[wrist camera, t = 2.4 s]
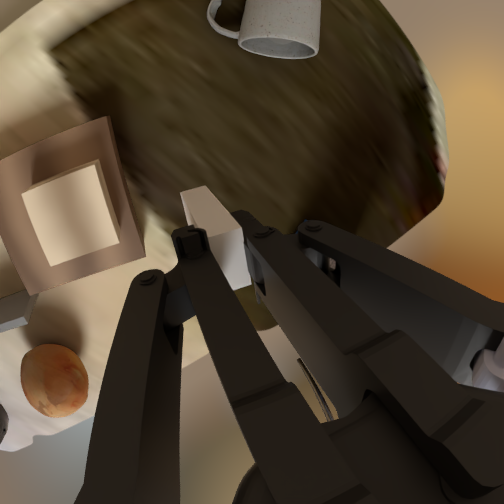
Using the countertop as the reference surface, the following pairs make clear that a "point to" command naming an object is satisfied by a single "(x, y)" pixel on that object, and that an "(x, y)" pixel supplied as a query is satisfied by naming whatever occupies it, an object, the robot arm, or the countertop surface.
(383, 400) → the robot arm
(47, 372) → the onion
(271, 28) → the ceramic mug
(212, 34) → the countertop surface
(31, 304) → the box
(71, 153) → the walnut platform
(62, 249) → the birch tile
